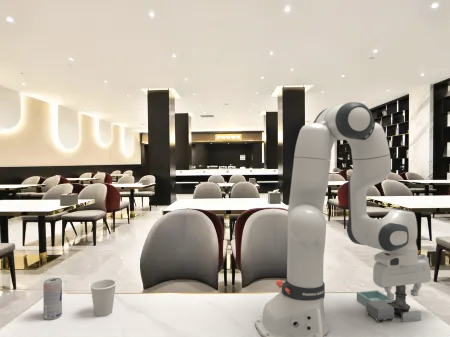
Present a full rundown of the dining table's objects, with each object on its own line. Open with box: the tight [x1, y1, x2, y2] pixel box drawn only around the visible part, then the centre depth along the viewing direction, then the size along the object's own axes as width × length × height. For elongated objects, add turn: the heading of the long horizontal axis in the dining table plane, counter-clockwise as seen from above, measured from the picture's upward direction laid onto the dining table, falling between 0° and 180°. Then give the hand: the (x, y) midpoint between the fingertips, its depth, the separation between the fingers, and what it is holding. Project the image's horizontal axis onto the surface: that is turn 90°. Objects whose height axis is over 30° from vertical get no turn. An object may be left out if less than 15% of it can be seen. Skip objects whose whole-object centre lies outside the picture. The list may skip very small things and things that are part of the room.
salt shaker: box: [391, 285, 411, 320], centre depth 105 cm, size 6×6×12 cm
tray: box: [356, 289, 395, 308], centre depth 114 cm, size 9×9×3 cm
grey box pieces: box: [366, 300, 422, 324], centre depth 105 cm, size 15×9×4 cm, turn 103°
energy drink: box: [42, 277, 63, 321], centre depth 104 cm, size 5×5×12 cm
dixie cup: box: [89, 279, 117, 318], centre depth 106 cm, size 8×8×10 cm
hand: (402, 297), depth 105 cm, fingers open, 8 cm apart
